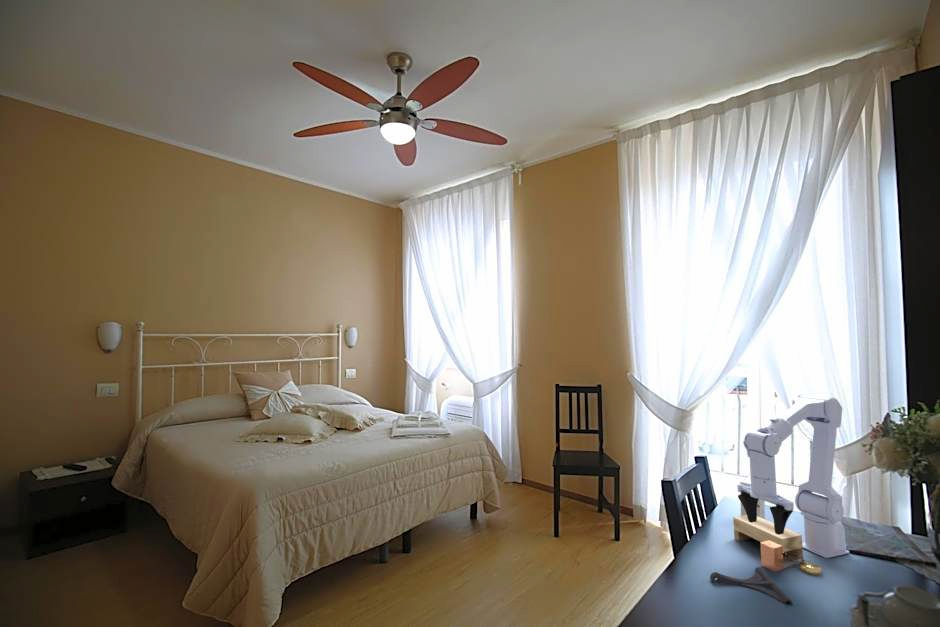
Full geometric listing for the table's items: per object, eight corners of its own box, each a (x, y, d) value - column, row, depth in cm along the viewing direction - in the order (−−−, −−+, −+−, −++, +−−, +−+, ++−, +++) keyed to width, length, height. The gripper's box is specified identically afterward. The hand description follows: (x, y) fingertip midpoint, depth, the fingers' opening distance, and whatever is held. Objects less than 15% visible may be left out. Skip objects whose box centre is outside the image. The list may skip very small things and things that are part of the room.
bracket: (701, 568, 115) (700, 558, 115) (762, 573, 112) (761, 562, 112) (722, 601, 101) (722, 589, 101) (792, 608, 98) (792, 595, 98)
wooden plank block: (753, 535, 132) (752, 513, 132) (803, 559, 118) (801, 535, 118) (734, 538, 130) (733, 517, 130) (783, 563, 116) (781, 539, 116)
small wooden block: (789, 556, 119) (787, 534, 119) (802, 562, 116) (801, 540, 116) (761, 565, 115) (760, 542, 115) (774, 572, 112) (773, 548, 112)
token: (799, 565, 115) (799, 559, 115) (820, 570, 113) (820, 564, 113) (800, 572, 112) (800, 566, 112) (822, 578, 109) (821, 572, 109)
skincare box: (740, 517, 145) (738, 481, 146) (746, 514, 148) (744, 478, 148) (760, 523, 140) (759, 486, 141) (766, 520, 143) (764, 483, 143)
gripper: (728, 470, 122) (730, 518, 121) (778, 487, 108) (781, 541, 108) (747, 467, 124) (749, 515, 123) (798, 483, 110) (801, 537, 110)
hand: (765, 527), depth 116 cm, fingers open, 7 cm apart
